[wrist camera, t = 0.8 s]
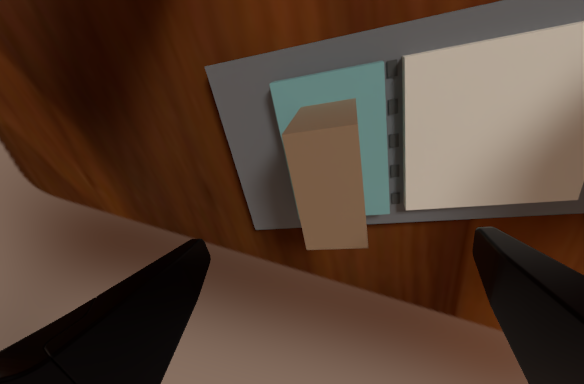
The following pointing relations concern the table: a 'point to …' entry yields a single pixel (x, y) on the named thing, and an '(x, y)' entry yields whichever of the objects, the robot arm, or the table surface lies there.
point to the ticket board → (436, 113)
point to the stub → (335, 151)
